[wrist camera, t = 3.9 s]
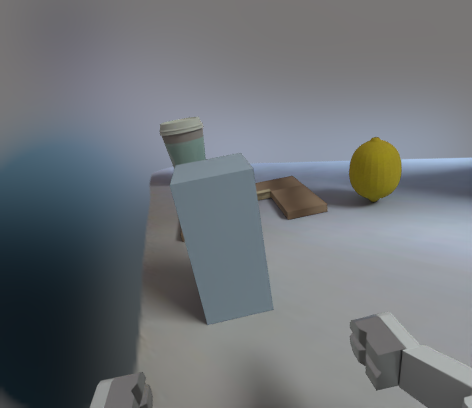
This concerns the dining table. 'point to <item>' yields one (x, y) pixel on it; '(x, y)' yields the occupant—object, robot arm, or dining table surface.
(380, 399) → the dining table surface
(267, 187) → the wooden u-shaped frame
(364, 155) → the lemon
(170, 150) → the coffee cup
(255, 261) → the blue-grey rectangular block
